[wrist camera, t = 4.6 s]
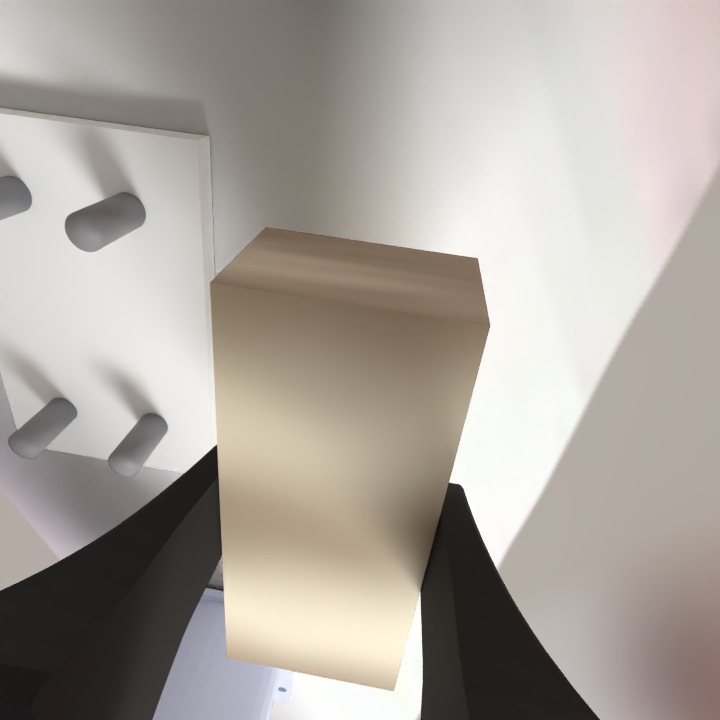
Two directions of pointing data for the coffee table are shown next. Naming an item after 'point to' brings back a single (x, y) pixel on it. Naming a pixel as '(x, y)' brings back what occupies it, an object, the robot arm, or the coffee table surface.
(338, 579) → the beige rectangular block
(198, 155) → the peg stand
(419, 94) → the coffee table surface
